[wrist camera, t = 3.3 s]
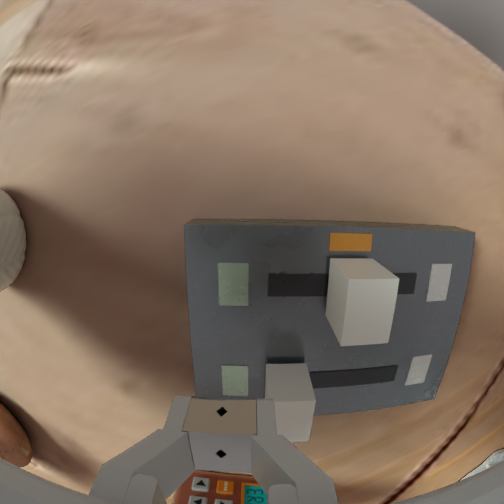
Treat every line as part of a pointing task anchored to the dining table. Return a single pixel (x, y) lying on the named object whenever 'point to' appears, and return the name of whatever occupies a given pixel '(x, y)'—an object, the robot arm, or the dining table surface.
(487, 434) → the dining table surface
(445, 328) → the breaker box
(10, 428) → the ceramic jug
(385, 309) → the block
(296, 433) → the block
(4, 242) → the lamp
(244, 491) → the control panel
